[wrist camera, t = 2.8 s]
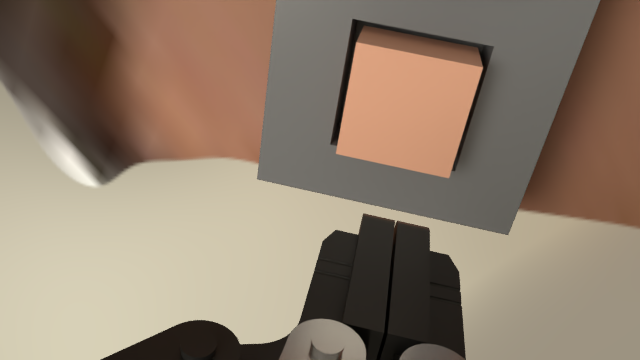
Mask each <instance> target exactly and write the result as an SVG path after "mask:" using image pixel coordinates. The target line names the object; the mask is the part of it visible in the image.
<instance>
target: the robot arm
mask: <svg viewBox="0 0 640 360" xmlns="http://www.w3.org/2000/svg"><path fill="white" fill-rule="evenodd" d="M394 225H395V221H394V220H390V219H386V218H381V217H377V216H372V215H368V214H363V217H362V221H361V225H360V230H359V234H358V235H356V234H352V233H347V232H343V231H338V230H335V231H334V232H333V233H332V234H331V235H329V236H328V237H327V238H326V239H325V240H324V241H323V242H322V246H321V250H320V253H319V257H318V260H317V263H316V267H315V271H314V274H313V277H312V280H311V284H310V288H309V291H308V294H307V298H306V301H305V305H304V308H303V312H302V315H301V318H300V321H299V324H298V325H297V326H296V327H295V328H294V329H293V330H292V331H291V333H290V334H289V335H287V336H286V337H284V338H282V339H280V340H277V341H274V342H270V343H264V344H243V345H241V344H240V343H239V341H238V339H237V337H236V336H235V335H234V333H233V332H231V331H230V330H229V329H228V328H226V327H225V326H223V325H220V324H218V323H215V322H211V321H205V320H195V321H188V322H184V323H181V324H178V325H176V326H174V327H171V328H169V329H167V330H165V331H163V332H161V333H158V334H156V335H154V336H152V337H150V338H147V339H145V340H143V341H141V342H138V343H136V344H134V345H132V346H130V347H128V348H126V349H123V350H121V351H119V352H117V353H114V354H112V355H110V356H108V357H106V358H103V359H101V360H466V358H465V344H464V331H463V318H462V306H461V292H460V279H459V271H458V270H457V268H456V266H455V265H454V263H453V262H452V260H451V258H450V257H449V255H446V254H441V253H437V252H433V251H430V230H429V228H427V227H423V226H418V225H414V224H409V223H405V222H400V221H397V222H396V225H395V228H394Z"/></svg>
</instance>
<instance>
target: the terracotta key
mask: <svg viewBox="0 0 640 360" xmlns="http://www.w3.org/2000/svg"><path fill="white" fill-rule="evenodd" d="M482 69H483V65H482V61H481V57H480V54H479V50H478V48H477V47H472V46H466V45H461V44H456V43H451V42H446V41H441V40H436V39H431V38H426V37H421V36H416V35H410V34H405V33H400V32H395V31H390V30H385V29H380V28H375V27H370V26H365V25H364V27H363V29H362V31H361V33H360V35H359V37H358V40H357V42H356V47H355V52H354V57H353V63H352V68H351V74H350V79H349V85H348V90H347V95H346V101H345V106H344V112H343V117H342V123H341V128H340V133H339V139H338V144H337V150H336V154H339V155H343V156H348V157H353V158H357V159H362V160H366V161H371V162H376V163H380V164H385V165H390V166H394V167H399V168H403V169H408V170H413V171H417V172H422V173H427V174H431V175H436V176H440V177H445V178H449V177H450V173H451V170H452V167H453V164H454V160H455V157H456V154H457V151H458V147H459V144H460V141H461V138H462V134H463V131H464V128H465V125H466V121H467V118H468V115H469V112H470V108H471V105H472V102H473V99H474V95H475V92H476V89H477V86H478V82H479V79H480V76H481V73H482Z"/></svg>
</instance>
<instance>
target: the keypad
mask: <svg viewBox="0 0 640 360" xmlns="http://www.w3.org/2000/svg"><path fill="white" fill-rule="evenodd" d="M599 2H600V0H276V7H275V17H274V26H273V36H272V45H271V54H270V64H269V73H268V83H267V92H266V101H265V111H264V120H263V129H262V139H261V148H260V158H259V167H258V176H257V179H259V180H263V181H267V182H272V183H276V184H281V185H286V186H290V187H295V188H299V189H303V190H308V191H312V192H317V193H322V194H326V195H330V196H335V197H340V198H344V199H348V200H353V201H357V202H362V203H366V204H371V205H375V206H380V207H384V208H389V209H393V210H398V211H402V212H407V213H411V214H416V215H420V216H425V217H429V218H433V219H438V220H442V221H447V222H451V223H456V224H460V225H465V226H470V227H474V228H479V229H483V230H487V231H492V232H496V233H501V234H505V235H508V234H509V232H510V229H511V227H512V224H513V221H514V219H515V216H516V214H517V211H518V209H519V206H520V204H521V201H522V199H523V196H524V193H525V191H526V188H527V186H528V183H529V181H530V178H531V176H532V173H533V171H534V168H535V165H536V163H537V160H538V158H539V155H540V153H541V150H542V148H543V145H544V143H545V140H546V137H547V135H548V132H549V130H550V127H551V125H552V122H553V120H554V117H555V115H556V112H557V109H558V107H559V104H560V102H561V99H562V97H563V94H564V92H565V89H566V87H567V84H568V81H569V79H570V76H571V74H572V71H573V69H574V66H575V64H576V61H577V58H578V56H579V53H580V51H581V48H582V46H583V43H584V41H585V38H586V36H587V33H588V30H589V28H590V25H591V23H592V20H593V18H594V15H595V13H596V10H597V8H598V5H599ZM364 25H365V26H370V27H375V28H380V29H385V30H390V31H395V32H400V33H405V34H410V35H416V36H421V37H426V38H431V39H436V40H441V41H446V42H451V43H456V44H461V45H466V46H472V47H477V48H478V50H479V54H480V57H481V61H482V65H483V69H482V73H481V76H480V79H479V82H478V86H477V89H476V92H475V95H474V99H473V102H472V105H471V108H470V112H469V115H468V118H467V121H466V125H465V128H464V131H463V134H462V138H461V141H460V144H459V147H458V151H457V154H456V157H455V160H454V164H453V167H452V170H451V173H450V177H449V178H445V177H440V176H436V175H431V174H427V173H422V172H417V171H413V170H408V169H403V168H399V167H394V166H390V165H385V164H380V163H376V162H371V161H366V160H362V159H357V158H353V157H348V156H343V155H339V154H336V150H337V144H338V139H339V133H340V128H341V123H342V117H343V112H344V106H345V101H346V95H347V90H348V85H349V79H350V74H351V68H352V63H353V57H354V52H355V47H356V42H357V40H358V37H359V35H360V33H361V31H362V29H363V27H364Z"/></svg>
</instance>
